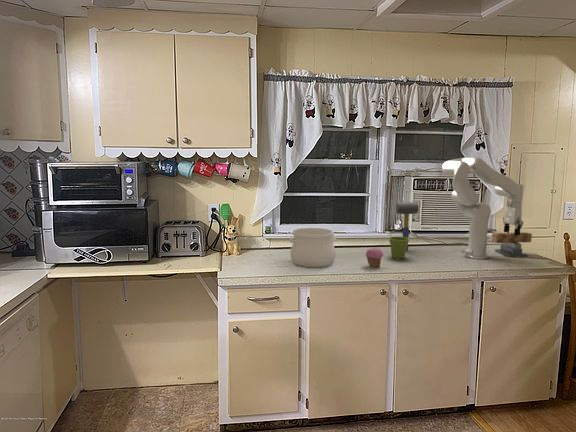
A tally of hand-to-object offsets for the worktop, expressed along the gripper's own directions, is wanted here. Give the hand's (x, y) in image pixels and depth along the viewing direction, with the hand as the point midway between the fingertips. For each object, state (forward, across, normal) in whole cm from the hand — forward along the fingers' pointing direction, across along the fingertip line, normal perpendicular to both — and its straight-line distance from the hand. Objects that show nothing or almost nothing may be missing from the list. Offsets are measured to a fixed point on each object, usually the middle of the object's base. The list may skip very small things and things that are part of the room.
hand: (511, 233), depth 249 cm
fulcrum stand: (+12, 0, +1) cm, 12 cm away
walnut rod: (+5, 0, 0) cm, 5 cm away
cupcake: (+15, +18, -89) cm, 92 cm away
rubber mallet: (+14, -16, -58) cm, 62 cm away
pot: (+16, +8, -120) cm, 121 cm away
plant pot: (+14, +1, -69) cm, 71 cm away
